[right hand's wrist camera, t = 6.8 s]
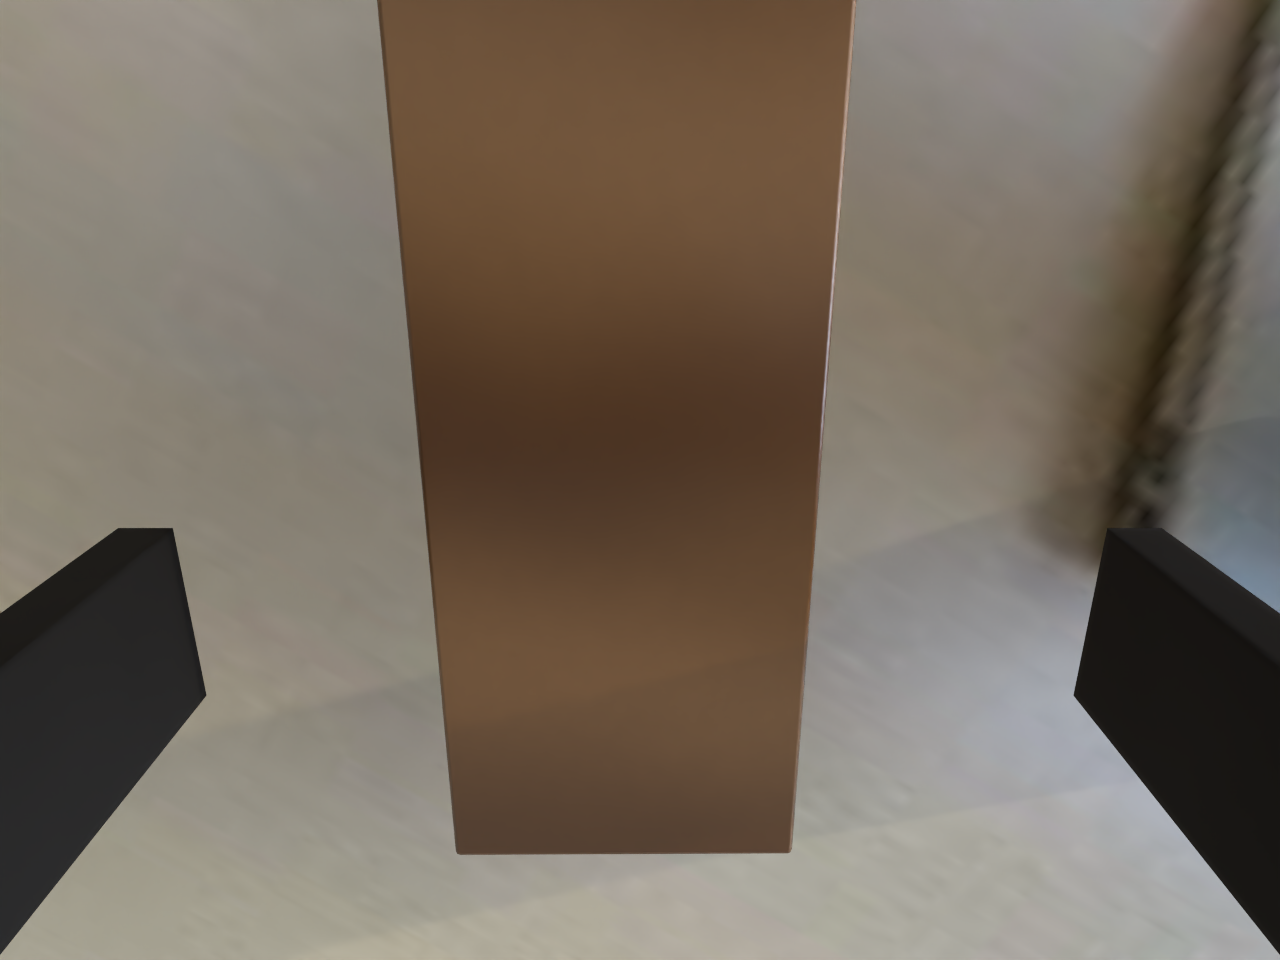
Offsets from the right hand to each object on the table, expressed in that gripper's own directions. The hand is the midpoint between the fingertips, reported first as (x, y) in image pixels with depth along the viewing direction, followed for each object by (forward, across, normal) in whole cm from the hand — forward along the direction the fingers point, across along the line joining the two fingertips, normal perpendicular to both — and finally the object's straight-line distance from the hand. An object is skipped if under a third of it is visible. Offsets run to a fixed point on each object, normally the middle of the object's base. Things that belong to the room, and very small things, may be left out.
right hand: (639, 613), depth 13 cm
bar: (+7, 0, -9) cm, 11 cm away
